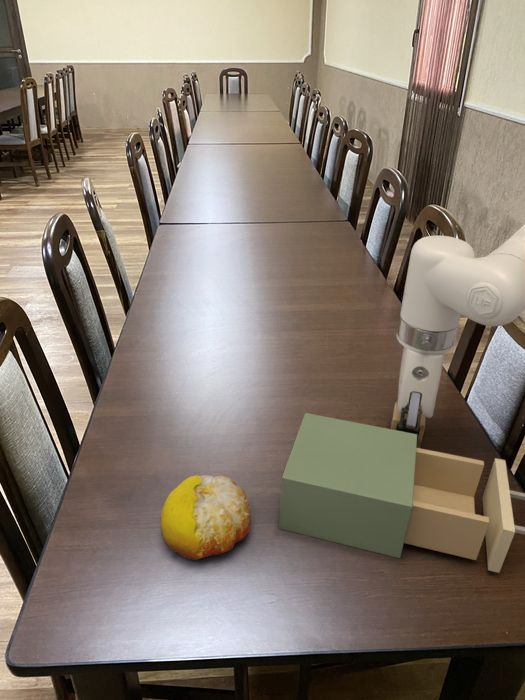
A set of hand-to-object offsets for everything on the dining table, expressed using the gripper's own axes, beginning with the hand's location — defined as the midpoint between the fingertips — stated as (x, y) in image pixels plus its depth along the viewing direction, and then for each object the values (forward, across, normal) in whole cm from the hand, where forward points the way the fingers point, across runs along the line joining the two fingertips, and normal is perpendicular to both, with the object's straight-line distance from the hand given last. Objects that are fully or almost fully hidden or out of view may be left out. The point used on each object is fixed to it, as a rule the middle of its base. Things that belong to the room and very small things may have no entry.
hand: (405, 435), depth 81 cm
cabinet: (0, -16, +6) cm, 17 cm away
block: (0, 0, 0) cm, 0 cm away
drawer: (-1, -16, -8) cm, 18 cm away
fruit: (+1, -25, +22) cm, 33 cm away
